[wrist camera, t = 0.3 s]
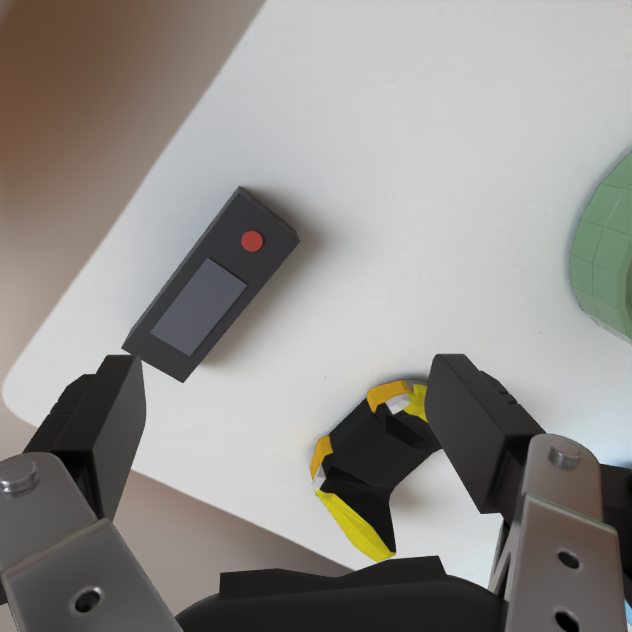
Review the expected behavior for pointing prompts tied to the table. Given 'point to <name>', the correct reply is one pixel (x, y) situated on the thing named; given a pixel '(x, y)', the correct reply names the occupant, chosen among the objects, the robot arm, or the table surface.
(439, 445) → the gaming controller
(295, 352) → the table surface
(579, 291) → the bowl
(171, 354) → the remote
